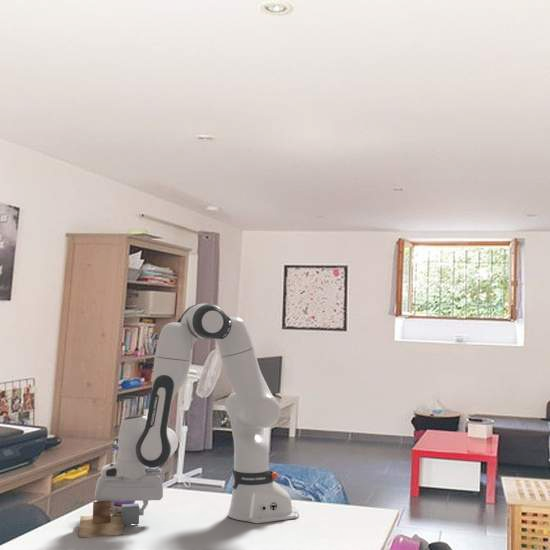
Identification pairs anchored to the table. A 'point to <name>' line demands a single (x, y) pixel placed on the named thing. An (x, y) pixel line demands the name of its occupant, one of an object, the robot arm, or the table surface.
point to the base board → (100, 527)
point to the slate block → (130, 514)
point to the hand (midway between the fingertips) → (127, 515)
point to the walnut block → (101, 512)
